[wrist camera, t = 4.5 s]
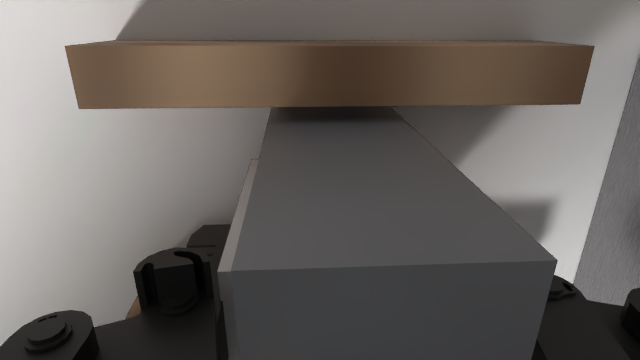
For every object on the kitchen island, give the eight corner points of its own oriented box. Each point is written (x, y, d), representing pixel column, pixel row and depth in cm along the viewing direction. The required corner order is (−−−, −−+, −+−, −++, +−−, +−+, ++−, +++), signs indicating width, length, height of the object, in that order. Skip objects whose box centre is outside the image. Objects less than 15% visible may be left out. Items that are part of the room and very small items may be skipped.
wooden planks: (160, 298, 17) (133, 353, 14) (114, 40, 13) (64, 46, 10) (486, 286, 17) (522, 336, 15) (533, 40, 14) (594, 45, 11)
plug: (278, 251, 16) (235, 919, 4) (272, 103, 14) (139, 634, 2) (375, 248, 16) (600, 874, 4) (385, 102, 14) (895, 570, 2)
